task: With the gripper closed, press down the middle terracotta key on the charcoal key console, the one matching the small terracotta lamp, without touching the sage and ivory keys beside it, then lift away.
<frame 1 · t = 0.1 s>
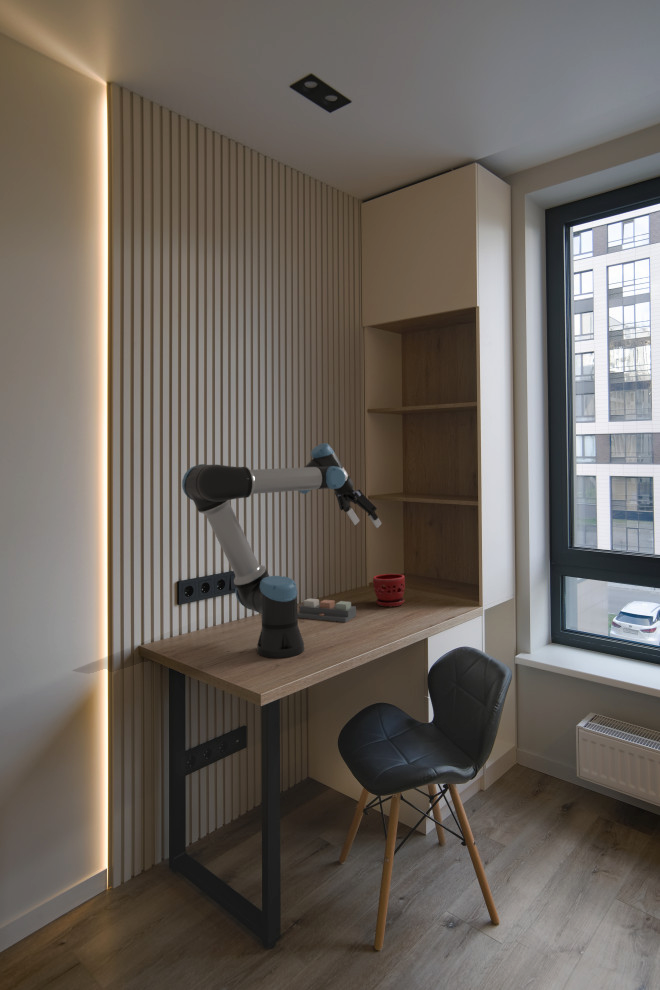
hand: (367, 524, 234), 36 cm above the table, tool tilted 35°, fingers open, 13 cm apart
sage key: (343, 606, 236), point 4 cm above the table, slide at 0.0 cm
key console: (326, 616, 238), on the table
plant pot: (389, 604, 255), on the table
terracotta key: (327, 605, 239), point 4 cm above the table, slide at 0.0 cm
ivory key: (311, 603, 242), point 4 cm above the table, slide at 0.0 cm
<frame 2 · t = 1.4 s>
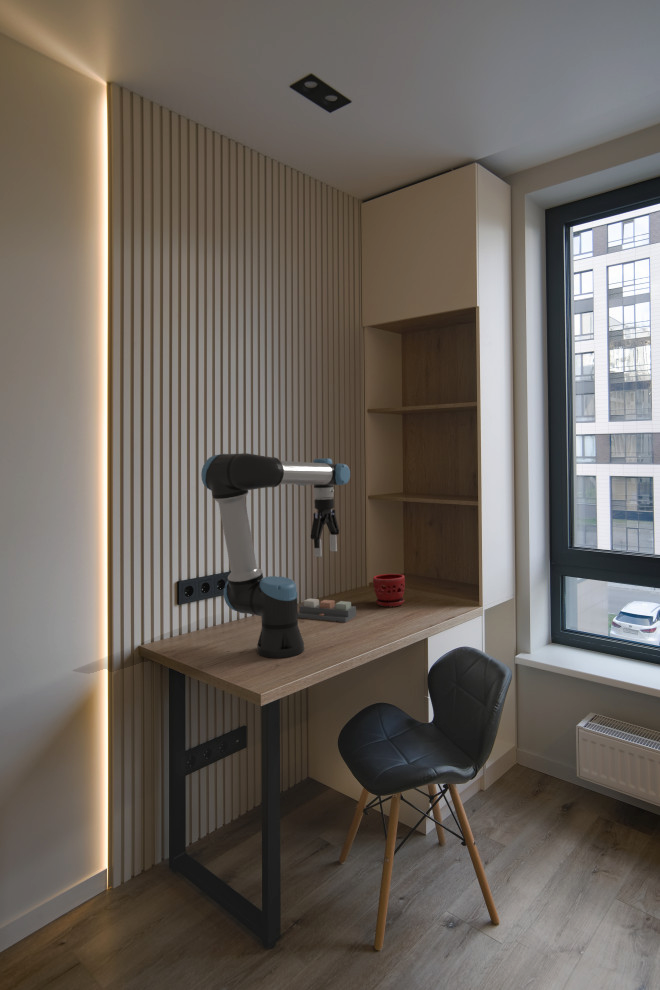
hand: (326, 553, 237), 25 cm above the table, tool pointing down, fingers open, 12 cm apart
nothing on the table moved.
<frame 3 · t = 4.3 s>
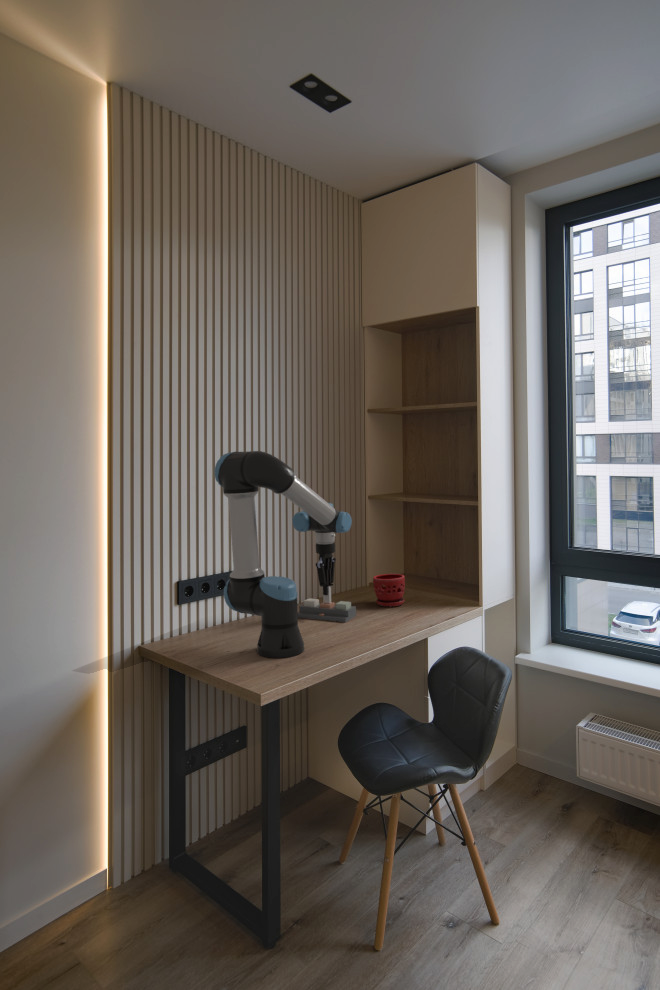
hand: (327, 602, 239), 5 cm above the table, tool pointing down, fingers closed
terracotta key: (327, 607, 239), point 4 cm above the table, slide at 0.8 cm, touching gripper
everything else where it was.
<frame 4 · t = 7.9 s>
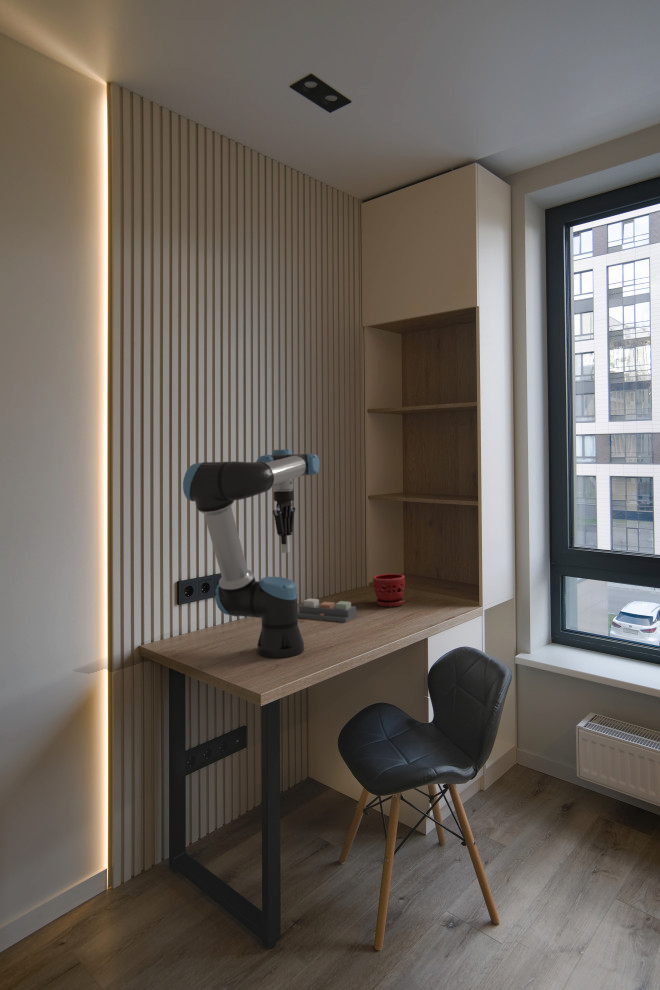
hand: (285, 552, 232), 26 cm above the table, tool pointing down, fingers closed
terracotta key: (327, 607, 239), point 4 cm above the table, slide at 0.8 cm
everything else where it was.
at the end: terracotta key slide at 0.8 cm; sage key slide at 0.0 cm; ivory key slide at 0.0 cm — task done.
